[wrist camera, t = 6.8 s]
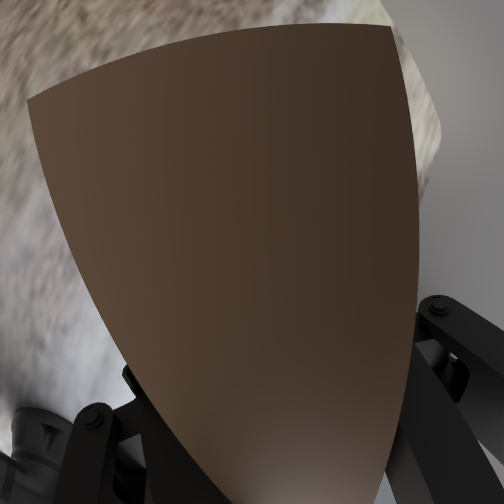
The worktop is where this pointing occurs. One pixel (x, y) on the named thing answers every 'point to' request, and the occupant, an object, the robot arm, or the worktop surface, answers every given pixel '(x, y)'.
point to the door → (251, 245)
